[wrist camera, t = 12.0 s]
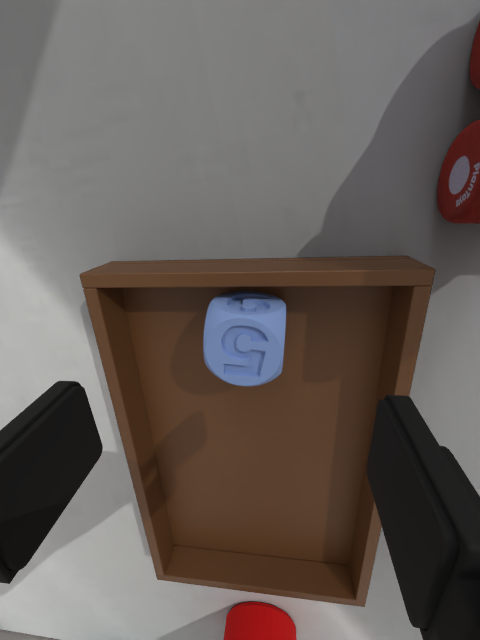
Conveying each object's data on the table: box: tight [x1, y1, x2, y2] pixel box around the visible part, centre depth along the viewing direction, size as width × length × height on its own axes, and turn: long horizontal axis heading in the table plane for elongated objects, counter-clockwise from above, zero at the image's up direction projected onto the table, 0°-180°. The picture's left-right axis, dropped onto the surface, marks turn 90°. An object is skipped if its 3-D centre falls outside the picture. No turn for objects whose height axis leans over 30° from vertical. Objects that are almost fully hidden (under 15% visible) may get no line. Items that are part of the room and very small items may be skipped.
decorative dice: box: [203, 291, 286, 386], centre depth 16 cm, size 4×4×4 cm
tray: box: [80, 256, 435, 607], centre depth 21 cm, size 28×18×3 cm, turn 3°
